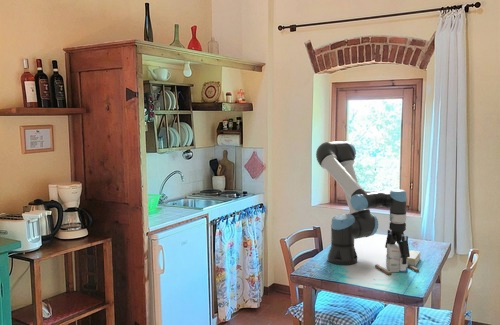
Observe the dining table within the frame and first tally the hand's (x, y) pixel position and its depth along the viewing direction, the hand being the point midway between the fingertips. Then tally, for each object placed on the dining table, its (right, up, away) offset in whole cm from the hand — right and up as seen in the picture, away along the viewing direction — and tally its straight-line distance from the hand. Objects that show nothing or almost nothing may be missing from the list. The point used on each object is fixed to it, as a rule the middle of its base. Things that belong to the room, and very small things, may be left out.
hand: (396, 266), depth 224 cm
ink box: (0, -1, 0) cm, 2 cm away
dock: (+8, 0, +13) cm, 15 cm away
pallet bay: (0, -1, 0) cm, 1 cm away
